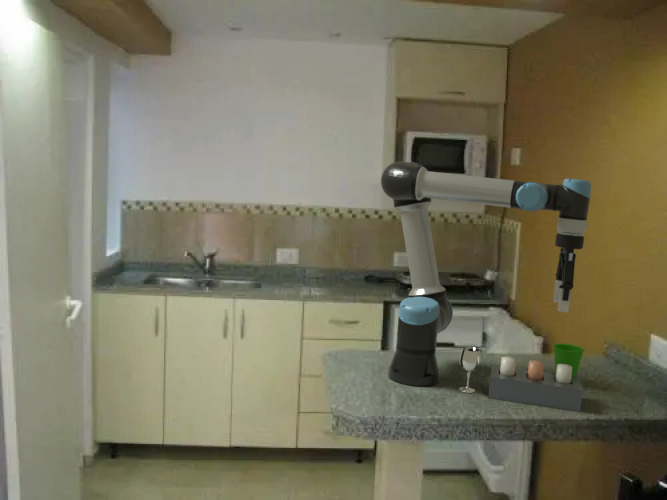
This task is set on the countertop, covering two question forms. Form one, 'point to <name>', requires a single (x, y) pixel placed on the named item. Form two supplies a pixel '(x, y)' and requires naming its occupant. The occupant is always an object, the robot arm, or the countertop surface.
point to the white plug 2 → (563, 373)
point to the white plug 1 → (508, 366)
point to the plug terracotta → (535, 369)
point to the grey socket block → (535, 389)
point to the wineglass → (469, 364)
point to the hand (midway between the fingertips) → (560, 307)
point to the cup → (568, 356)
